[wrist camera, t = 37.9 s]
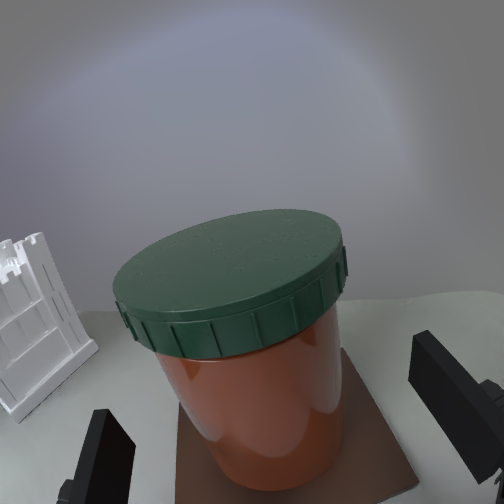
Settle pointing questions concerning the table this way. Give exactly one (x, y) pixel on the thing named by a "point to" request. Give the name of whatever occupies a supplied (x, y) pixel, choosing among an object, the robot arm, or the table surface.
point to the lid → (233, 283)
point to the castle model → (35, 327)
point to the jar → (268, 406)
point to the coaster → (325, 485)
